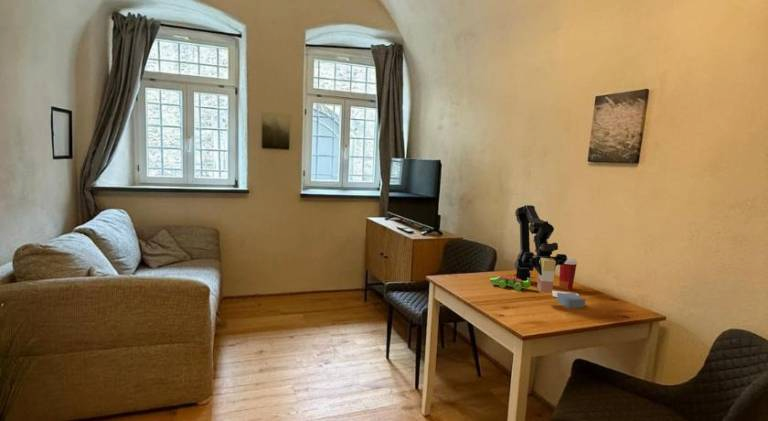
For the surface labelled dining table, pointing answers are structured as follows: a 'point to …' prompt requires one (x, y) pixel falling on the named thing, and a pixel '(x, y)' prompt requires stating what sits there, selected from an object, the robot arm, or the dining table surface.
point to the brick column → (546, 274)
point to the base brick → (571, 300)
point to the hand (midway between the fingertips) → (547, 275)
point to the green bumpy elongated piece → (511, 282)
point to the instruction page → (555, 294)
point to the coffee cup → (567, 274)
